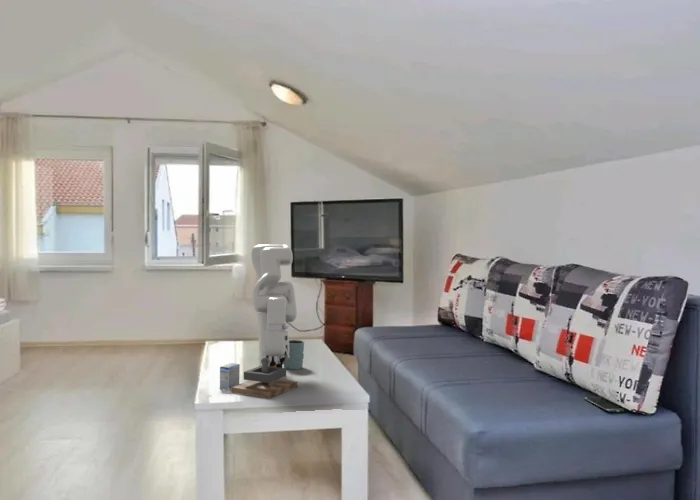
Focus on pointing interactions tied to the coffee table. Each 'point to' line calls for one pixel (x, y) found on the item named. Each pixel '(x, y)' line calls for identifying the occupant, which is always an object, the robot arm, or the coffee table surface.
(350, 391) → the coffee table surface
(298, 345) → the teal cup
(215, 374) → the coffee table surface
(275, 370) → the grey square frame
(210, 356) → the coffee table surface
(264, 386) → the wooden peg stand
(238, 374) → the medicine box
